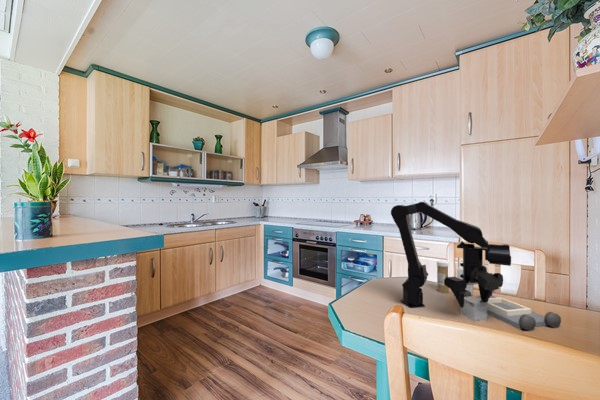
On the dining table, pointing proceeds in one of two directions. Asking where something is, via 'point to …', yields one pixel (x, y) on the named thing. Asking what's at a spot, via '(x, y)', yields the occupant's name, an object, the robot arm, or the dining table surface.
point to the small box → (460, 271)
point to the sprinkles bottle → (442, 276)
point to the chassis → (518, 314)
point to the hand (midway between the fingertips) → (473, 306)
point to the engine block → (474, 309)
